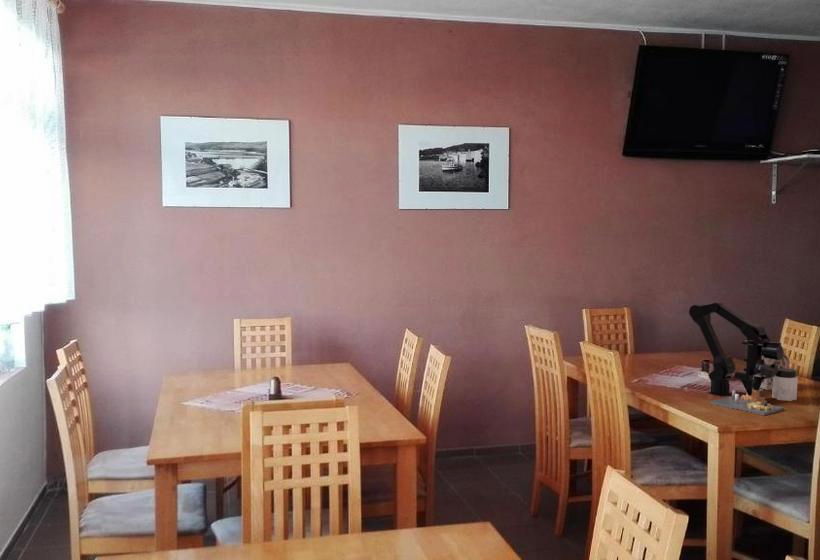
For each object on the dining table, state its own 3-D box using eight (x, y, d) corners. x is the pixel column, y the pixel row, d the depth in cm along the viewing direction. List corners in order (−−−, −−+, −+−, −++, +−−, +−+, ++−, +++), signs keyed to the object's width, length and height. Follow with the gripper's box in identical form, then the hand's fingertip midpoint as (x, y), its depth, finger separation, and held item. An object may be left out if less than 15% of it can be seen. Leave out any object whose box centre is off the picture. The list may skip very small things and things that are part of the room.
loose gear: (736, 399, 301) (736, 390, 300) (748, 396, 306) (748, 387, 305) (757, 403, 293) (757, 394, 293) (769, 400, 298) (769, 391, 298)
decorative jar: (788, 389, 320) (790, 347, 319) (767, 390, 317) (768, 349, 316) (767, 383, 332) (769, 343, 330) (746, 385, 328) (748, 344, 327)
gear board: (710, 403, 293) (710, 392, 293) (730, 399, 301) (730, 388, 301) (763, 415, 275) (764, 403, 275) (783, 410, 283) (784, 398, 283)
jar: (771, 399, 301) (772, 370, 300) (772, 395, 308) (773, 367, 307) (796, 402, 296) (797, 372, 295) (796, 398, 304) (798, 369, 303)
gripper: (760, 361, 286) (759, 401, 287) (786, 357, 297) (784, 395, 298) (734, 357, 295) (732, 396, 297) (759, 353, 306) (758, 390, 307)
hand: (752, 394), depth 299 cm, fingers closed on loose gear, 4 cm apart
